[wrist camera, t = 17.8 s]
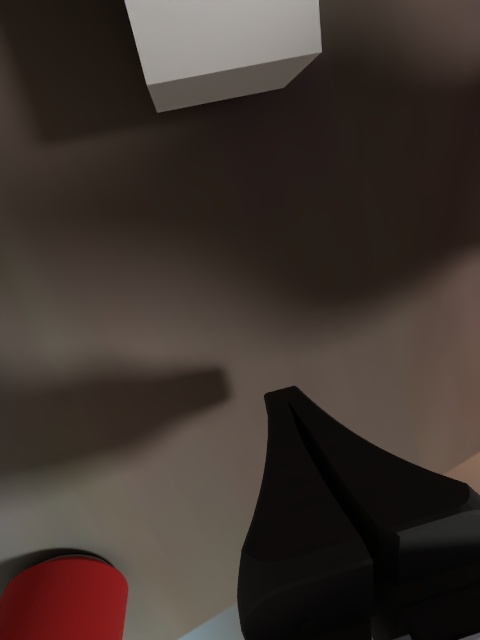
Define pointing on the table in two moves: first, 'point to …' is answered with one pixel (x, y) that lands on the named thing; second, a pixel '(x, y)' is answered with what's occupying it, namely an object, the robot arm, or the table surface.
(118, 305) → the table surface
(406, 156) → the table surface
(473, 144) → the table surface
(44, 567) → the beverage can
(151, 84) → the tray
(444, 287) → the table surface
